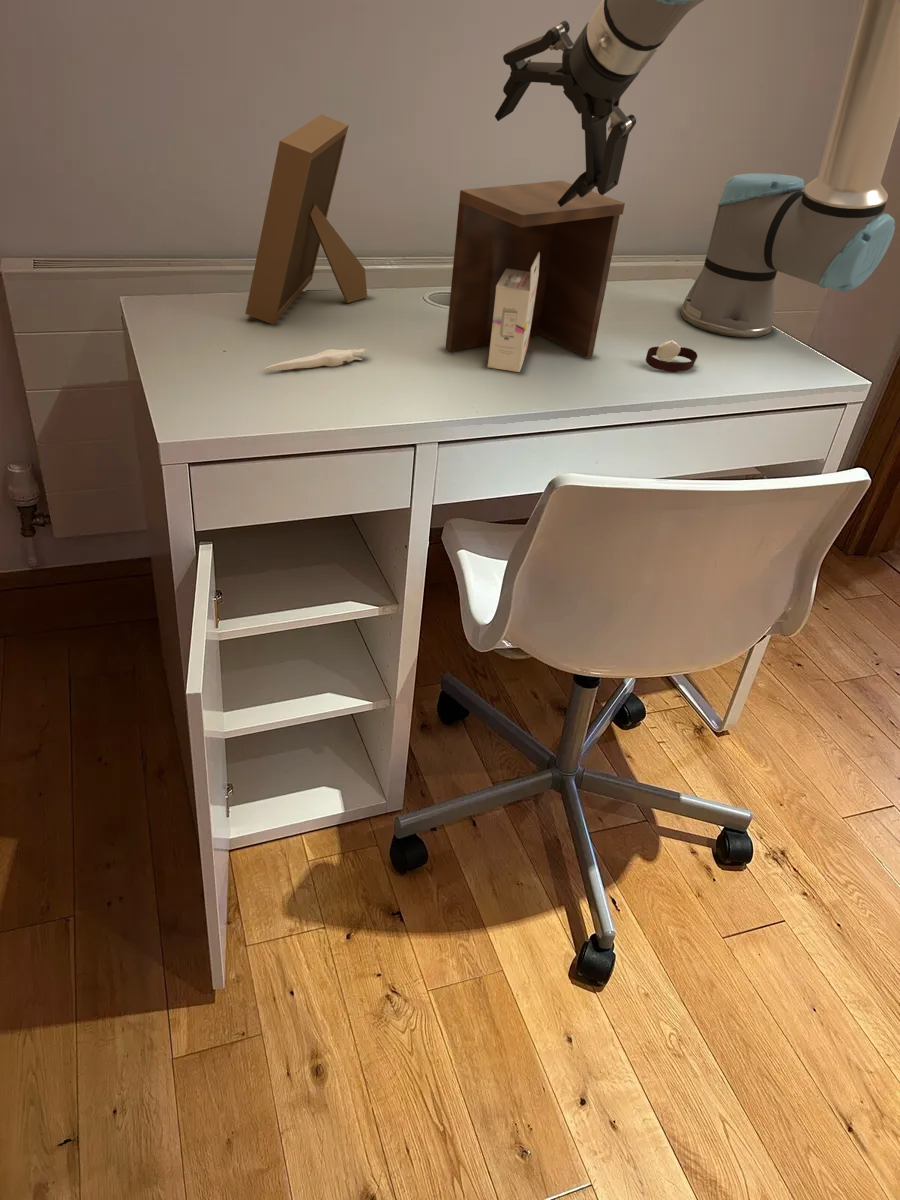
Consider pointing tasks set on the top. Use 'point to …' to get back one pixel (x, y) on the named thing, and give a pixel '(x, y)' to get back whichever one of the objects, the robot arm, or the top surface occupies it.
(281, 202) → the photo frame
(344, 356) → the beige tapered rod
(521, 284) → the ink cartridge box
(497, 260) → the shelf
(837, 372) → the top surface
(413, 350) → the top surface
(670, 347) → the watch
